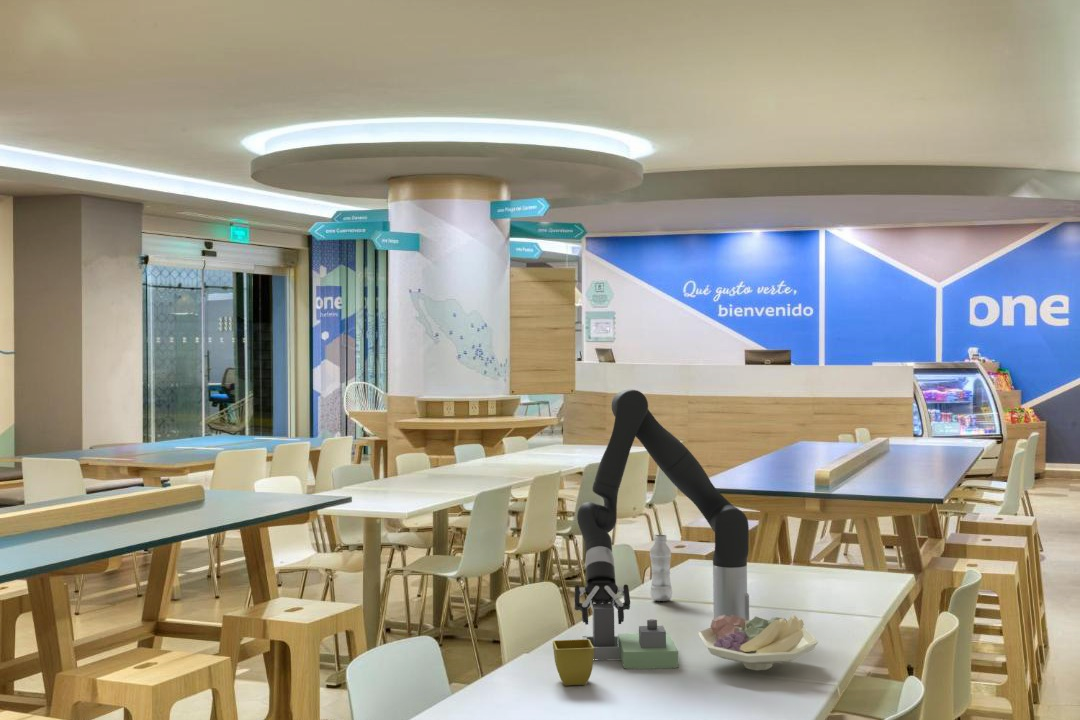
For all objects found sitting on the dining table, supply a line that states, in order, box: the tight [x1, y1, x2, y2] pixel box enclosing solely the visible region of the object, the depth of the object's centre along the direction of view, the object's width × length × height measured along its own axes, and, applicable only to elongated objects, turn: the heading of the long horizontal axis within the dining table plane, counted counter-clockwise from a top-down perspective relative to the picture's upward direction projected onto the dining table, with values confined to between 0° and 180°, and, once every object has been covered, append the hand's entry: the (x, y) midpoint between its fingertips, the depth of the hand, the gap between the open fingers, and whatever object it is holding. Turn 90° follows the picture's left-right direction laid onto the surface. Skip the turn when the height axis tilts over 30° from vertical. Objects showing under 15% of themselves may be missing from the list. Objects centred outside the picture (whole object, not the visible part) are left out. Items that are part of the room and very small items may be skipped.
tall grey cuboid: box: [591, 602, 615, 647], centre depth 284 cm, size 5×6×12 cm
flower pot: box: [552, 638, 594, 687], centre depth 259 cm, size 9×9×9 cm
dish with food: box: [698, 615, 819, 671], centre depth 270 cm, size 28×28×14 cm
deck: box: [582, 618, 679, 669], centre depth 280 cm, size 22×20×10 cm
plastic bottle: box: [649, 534, 673, 602], centre depth 344 cm, size 6×7×20 cm
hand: (603, 622), depth 283 cm, fingers open, 8 cm apart
